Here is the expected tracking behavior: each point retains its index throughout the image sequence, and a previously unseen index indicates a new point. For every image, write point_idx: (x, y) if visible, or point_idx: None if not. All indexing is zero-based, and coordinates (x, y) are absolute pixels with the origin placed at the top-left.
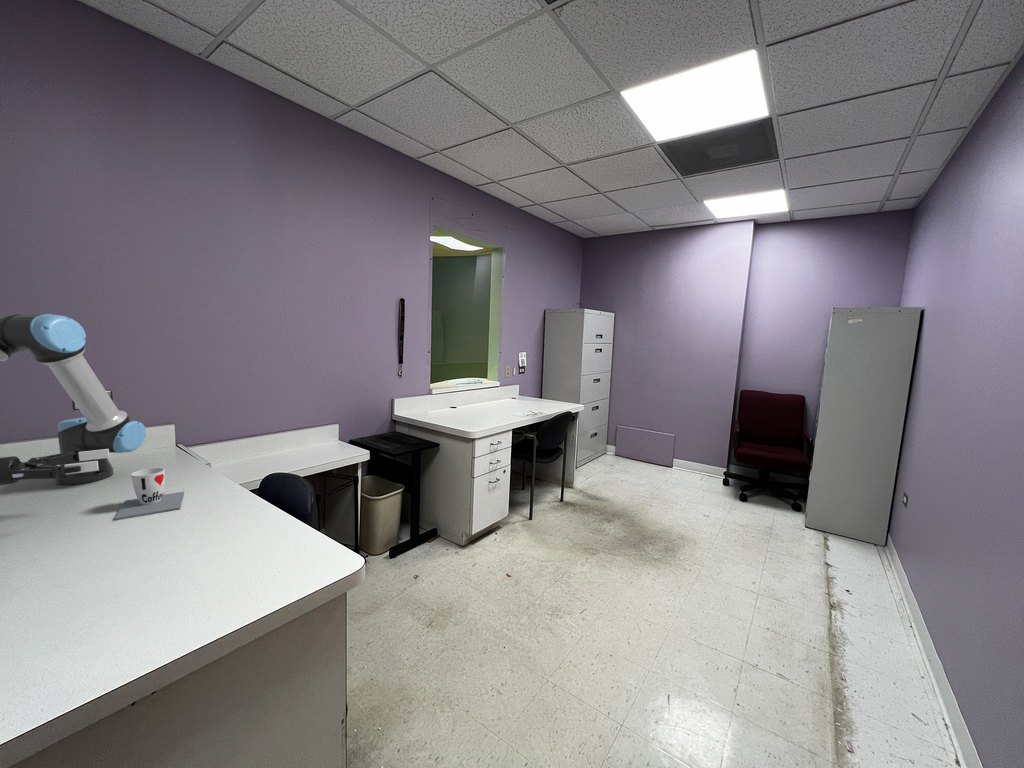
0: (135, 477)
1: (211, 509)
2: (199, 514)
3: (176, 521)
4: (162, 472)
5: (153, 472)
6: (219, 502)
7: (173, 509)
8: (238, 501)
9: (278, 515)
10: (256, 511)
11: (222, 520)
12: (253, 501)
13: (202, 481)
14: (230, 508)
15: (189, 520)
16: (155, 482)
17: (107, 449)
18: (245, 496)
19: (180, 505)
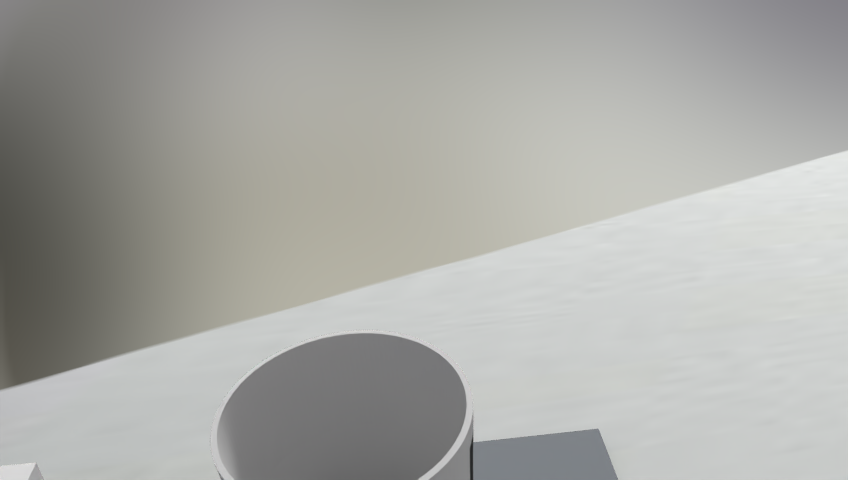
0: (447, 477)
1: (646, 327)
2: (711, 354)
3: (805, 417)
4: (395, 342)
5: (237, 438)
6: (547, 317)
7: (608, 457)
8: (564, 268)
9: (777, 176)
10: (719, 218)
11: (812, 280)
12: (586, 234)
13: (61, 431)
14: (655, 278)
15: (797, 373)
16: (449, 424)
17: (33, 467)
18: (500, 258)
19: (555, 434)
